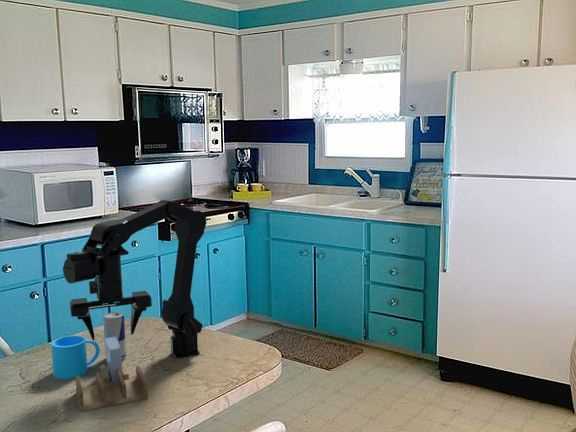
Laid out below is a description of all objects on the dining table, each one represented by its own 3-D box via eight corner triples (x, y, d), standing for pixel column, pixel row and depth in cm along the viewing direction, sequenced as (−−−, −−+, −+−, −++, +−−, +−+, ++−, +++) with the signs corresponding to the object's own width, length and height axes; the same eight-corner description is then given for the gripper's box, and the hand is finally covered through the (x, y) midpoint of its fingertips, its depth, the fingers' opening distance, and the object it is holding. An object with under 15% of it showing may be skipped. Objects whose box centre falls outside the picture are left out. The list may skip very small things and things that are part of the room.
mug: (60, 381, 145) (58, 349, 144) (48, 371, 151) (46, 341, 150) (107, 368, 153) (105, 337, 152) (93, 359, 159) (91, 330, 158)
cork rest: (124, 369, 152) (123, 362, 152) (129, 381, 145) (128, 374, 144) (101, 373, 150) (100, 366, 149) (104, 386, 142) (104, 378, 142)
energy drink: (130, 355, 161) (128, 313, 159) (118, 362, 156) (116, 319, 154) (113, 353, 163) (111, 311, 161) (101, 360, 158) (99, 317, 156)
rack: (140, 381, 145) (139, 365, 144) (147, 398, 136) (147, 381, 135) (76, 392, 139) (75, 376, 138) (79, 411, 130) (78, 393, 129)
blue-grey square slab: (117, 370, 152) (115, 336, 150) (122, 384, 143) (120, 348, 142) (107, 372, 151) (105, 338, 149) (111, 385, 142) (110, 350, 141)
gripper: (142, 264, 154) (145, 321, 157) (66, 271, 147) (70, 332, 149) (150, 273, 144) (153, 335, 146) (69, 282, 137) (73, 347, 139)
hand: (113, 336), depth 146 cm, fingers open, 9 cm apart
